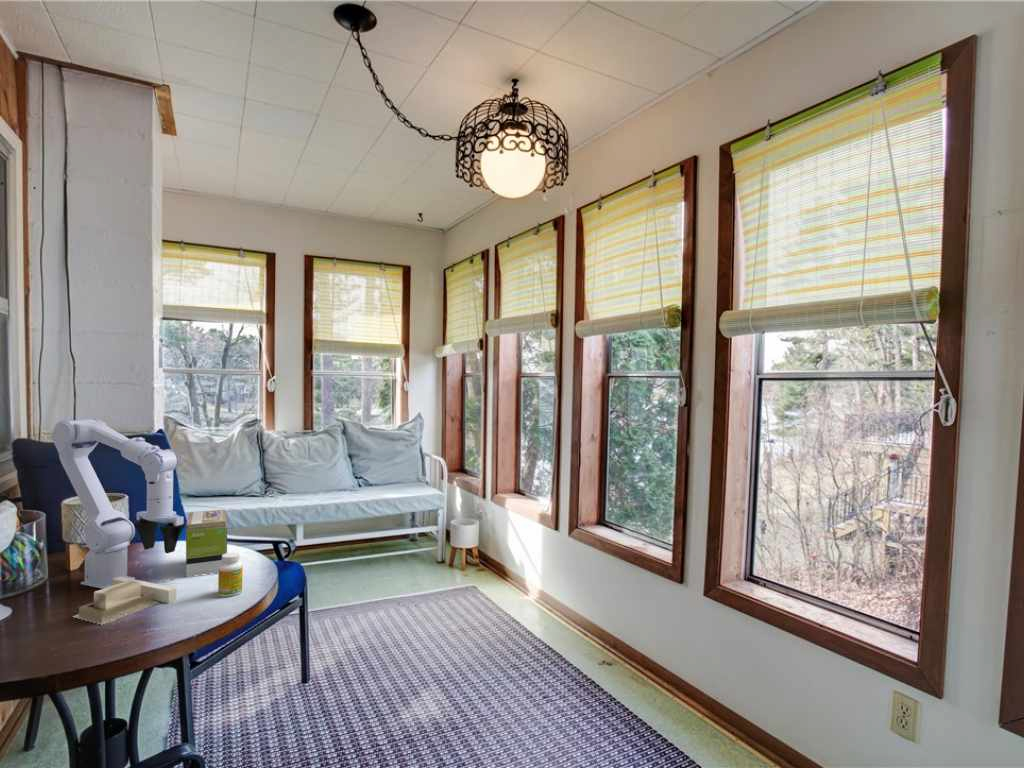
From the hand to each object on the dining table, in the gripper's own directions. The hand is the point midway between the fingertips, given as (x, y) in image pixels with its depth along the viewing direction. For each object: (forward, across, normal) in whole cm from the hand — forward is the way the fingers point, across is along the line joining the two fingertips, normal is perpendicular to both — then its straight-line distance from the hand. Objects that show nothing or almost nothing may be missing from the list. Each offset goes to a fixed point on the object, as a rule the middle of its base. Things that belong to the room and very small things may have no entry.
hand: (159, 550), depth 145 cm
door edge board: (+9, -2, +6) cm, 11 cm away
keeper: (+9, -5, +14) cm, 18 cm away
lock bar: (+9, -5, +14) cm, 17 cm away
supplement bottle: (+10, -20, -4) cm, 23 cm away
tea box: (+10, +2, -16) cm, 19 cm away
